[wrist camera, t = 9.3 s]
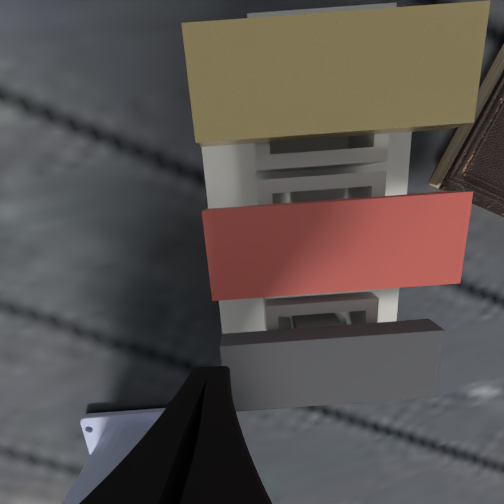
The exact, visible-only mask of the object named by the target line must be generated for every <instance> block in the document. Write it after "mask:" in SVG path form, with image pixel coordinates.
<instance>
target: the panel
mask: <svg viewBox="0 0 504 504" xmlns="http://www.w3.org/2000/svg"><path fill="white" fill-rule="evenodd" d="M393 7H397V2H396V3H382V4H369V5H355V6H341V7H328V8H314V9H300V10H287V11H273V12H259V13H247V18H256V17H270V16H283V15H297V14H311V13H324V12H338V11H352V10H365V9H379V8H393ZM411 136H412V132H402V133H388V134H374V135H361V136H347V137H333V138H319V139H306V140H292V141H278V142H264V143H251V144H237V145H223V146H209V147H201V148H202V157H203V166H204V174H205V183H206V192H207V201H208V209H212V208H226V207H239V206H253V205H267V204H281V203H295V202H308V201H322V200H336V199H350V198H364V197H378V196H391V195H405V194H407V186H408V173H409V161H410V149H411ZM398 296H399V288H387V289H374V290H360V291H346V292H332V293H318V294H304V295H290V296H276V297H263V298H249V299H235V300H221V301H219V308H220V317H221V326H222V334H225V333H239V332H253V331H267V330H281V329H291V316H295V315H309V314H323V313H335V315H336V316H337V318H338V319H339V321H340V322H341V324H342V325H350V324H364V323H378V322H392V321H397V308H398Z"/></svg>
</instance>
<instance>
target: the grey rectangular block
mask: <svg viewBox="0 0 504 504" xmlns="http://www.w3.org/2000/svg"><path fill="white" fill-rule="evenodd" d="M444 331H445V330H444V329H442V328H441V327H439V326H438V325H437V324H435V323H434V322H432V321H431V320H430V319H420V320H406V321H392V322H378V323H364V324H350V325H342V324H341V322H340V321H339V319H338V318H337V316H336V315H335V313H323V314H309V315H295V316H291V329H281V330H267V331H253V332H239V333H225V334H222V335H221V341H220V355H221V363H222V366H228V367H229V368H230V376H231V388H232V399H233V403H234V407H235V411H249V410H263V409H277V408H291V407H304V406H318V405H332V404H346V403H360V402H374V401H388V400H402V399H416V398H430V397H436V390H437V383H438V375H439V368H440V361H441V353H442V346H443V338H444Z"/></svg>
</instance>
